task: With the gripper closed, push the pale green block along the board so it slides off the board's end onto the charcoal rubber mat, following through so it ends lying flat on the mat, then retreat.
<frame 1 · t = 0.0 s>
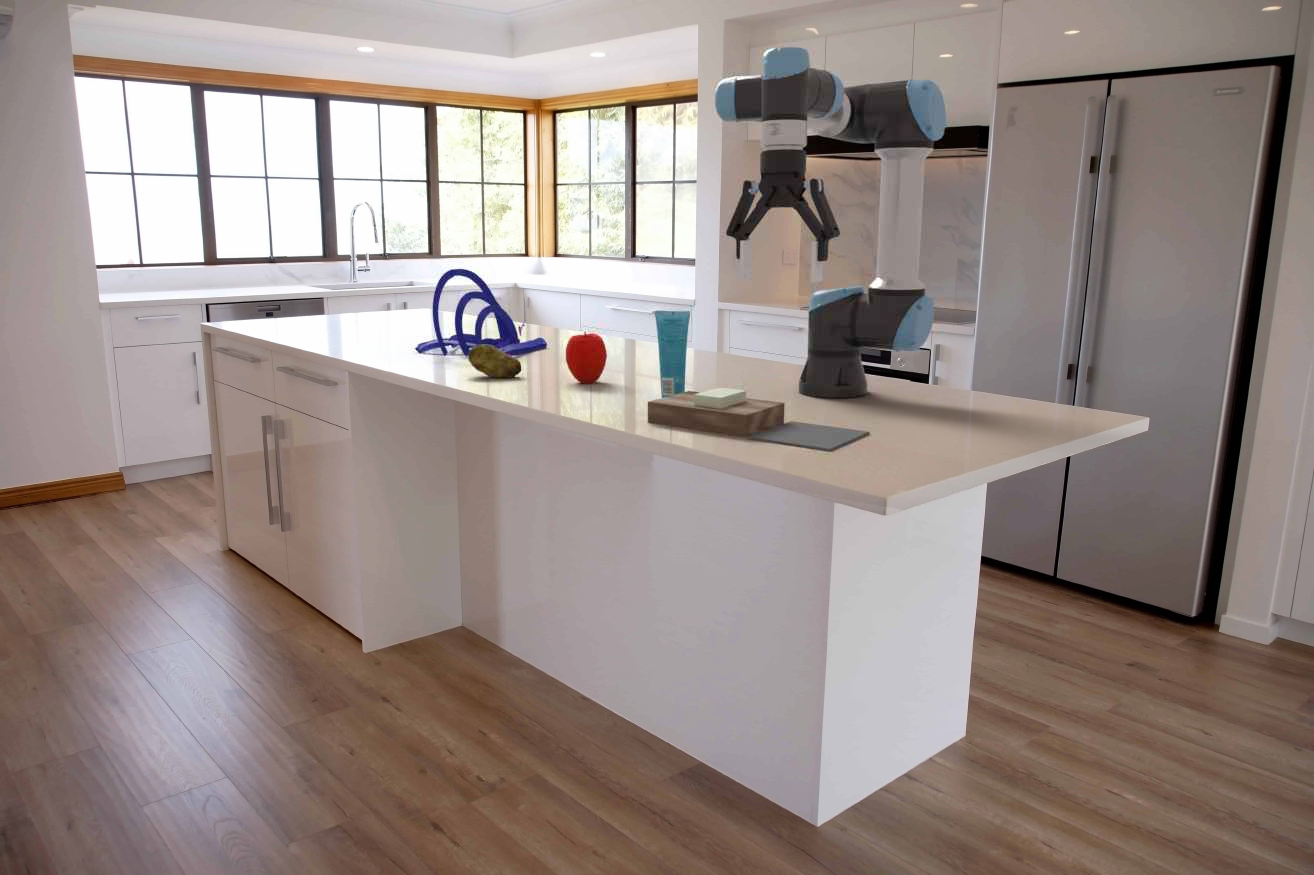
hand: (780, 280, 162), 28 cm above the countertop, fingers open, 13 cm apart
board: (715, 422, 184), on the countertop
tube: (672, 401, 207), on the countertop
pale green block: (720, 402, 183), point 4 cm above the countertop, touching board
sculpture: (482, 352, 284), on the countertop
apple: (587, 383, 230), on the countertop
mat: (809, 436, 173), on the countertop
potato: (494, 377, 238), on the countertop
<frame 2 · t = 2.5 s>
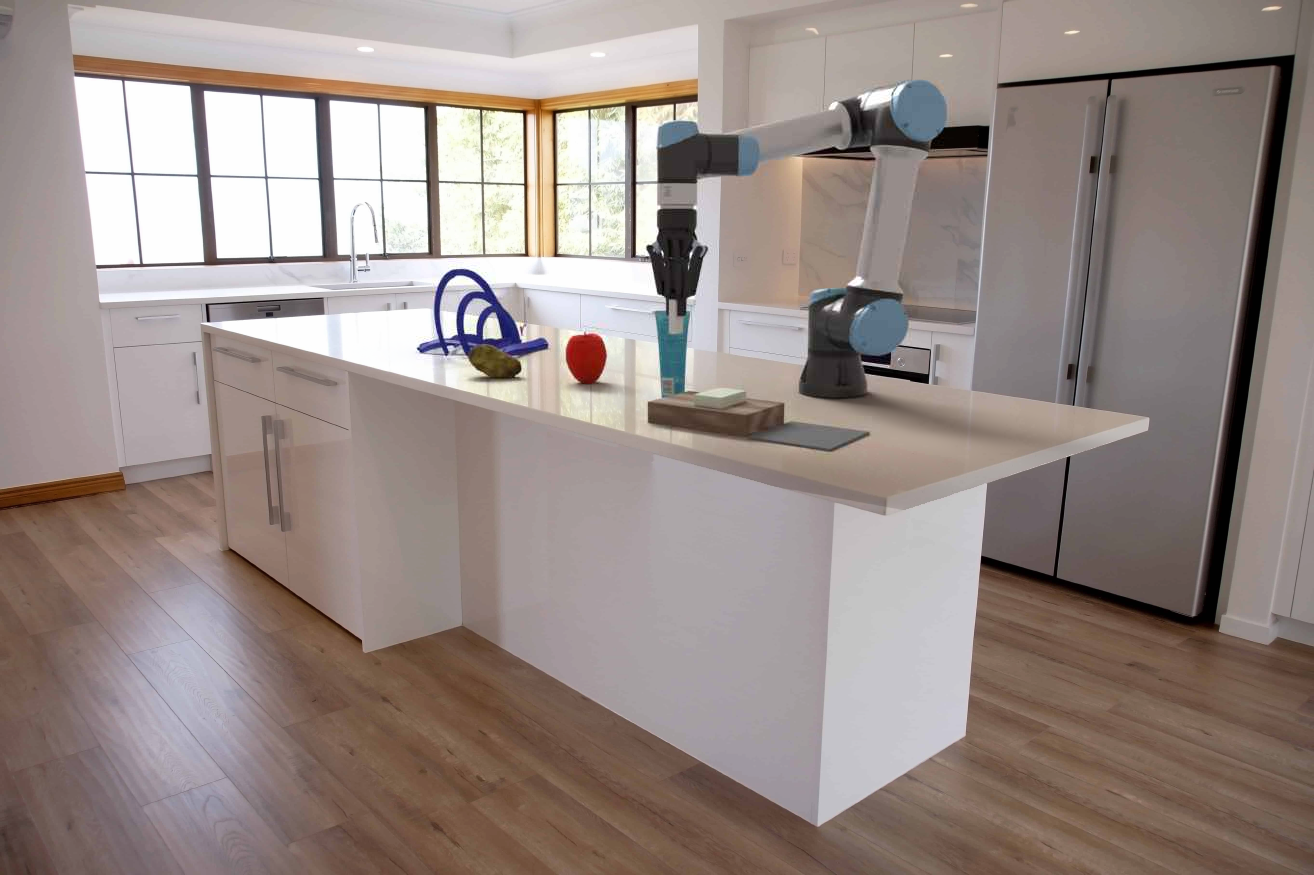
hand: (676, 333, 186), 17 cm above the countertop, fingers closed
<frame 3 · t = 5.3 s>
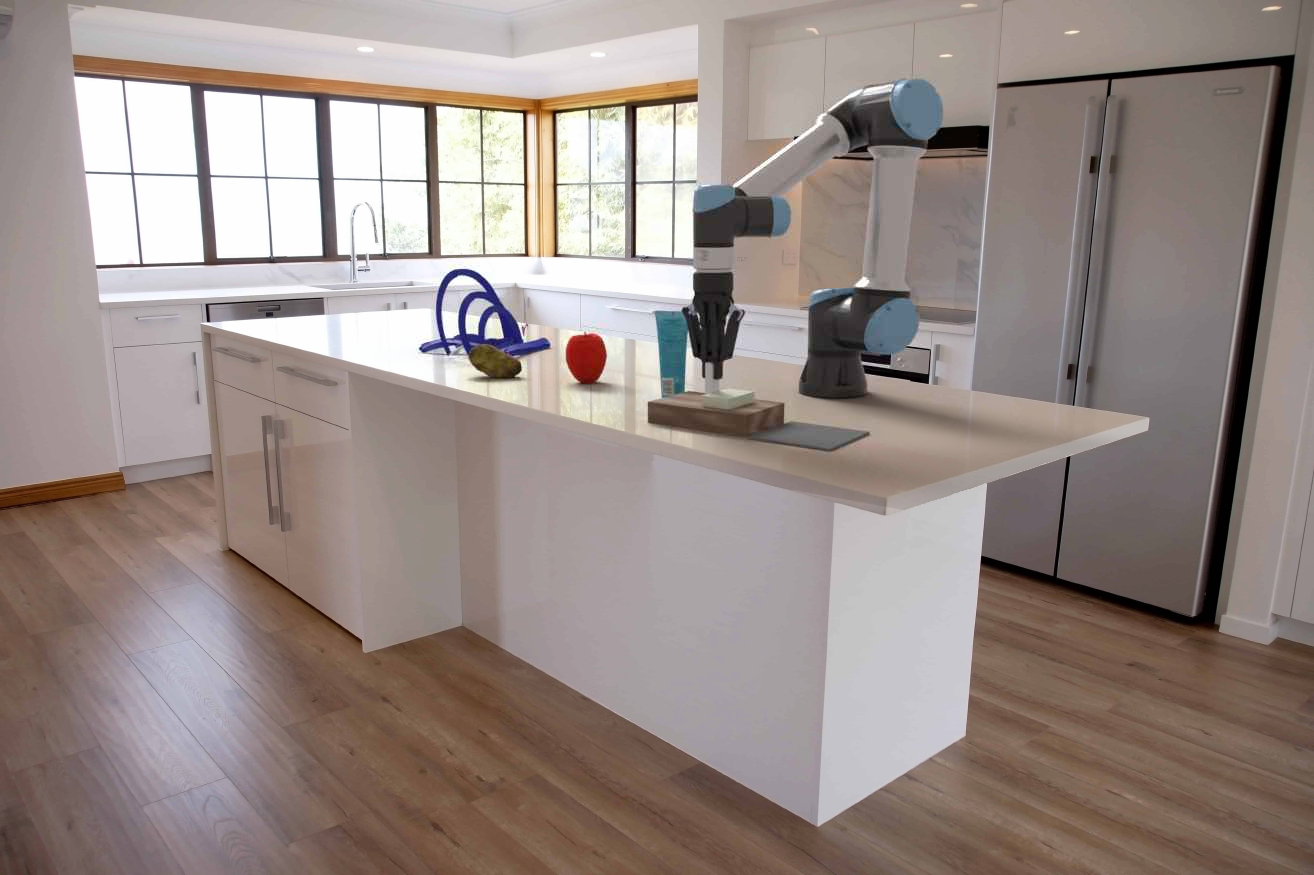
hand: (712, 395, 184), 5 cm above the countertop, fingers closed
pale green block: (728, 403, 182), point 4 cm above the countertop, touching board, gripper
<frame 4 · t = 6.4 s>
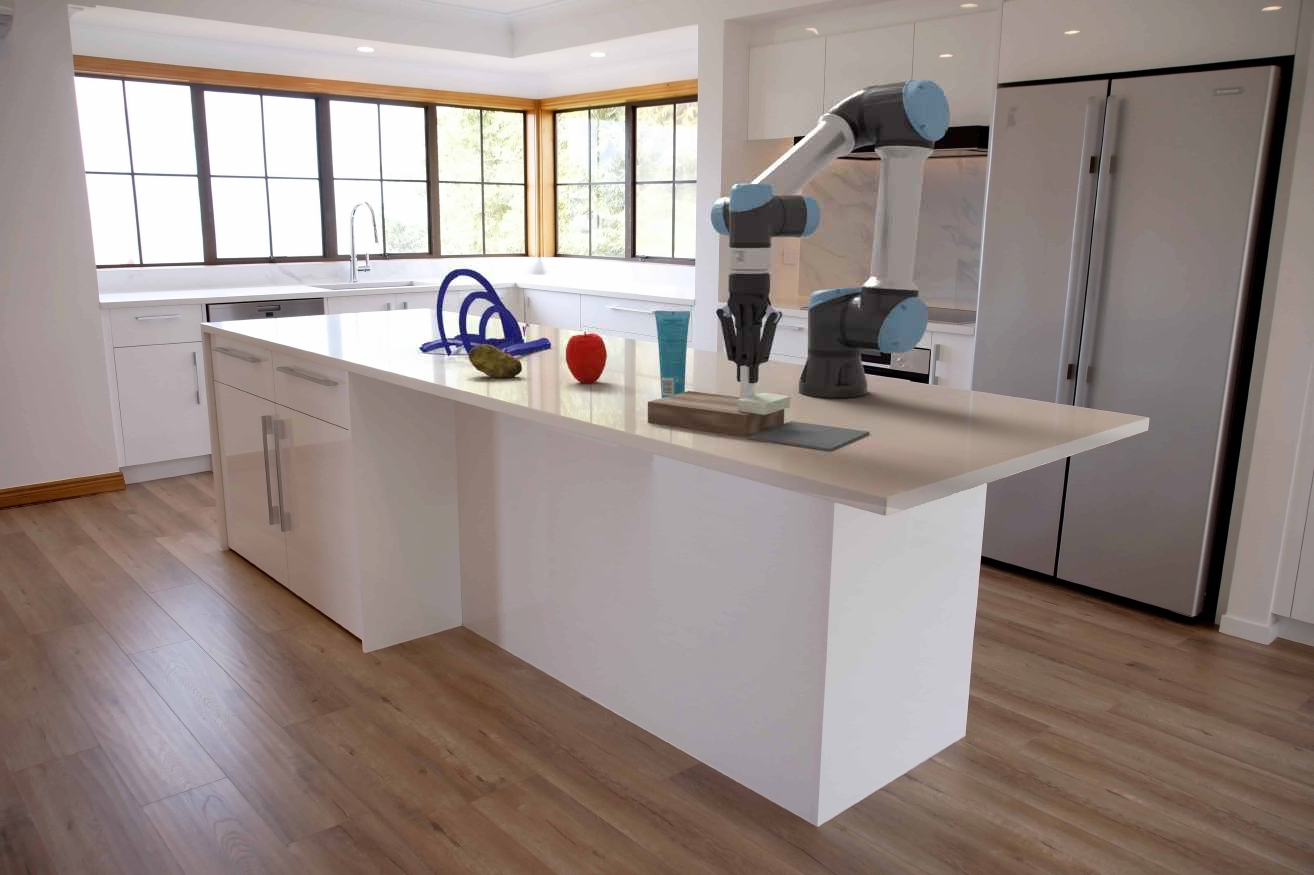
hand: (747, 399, 179), 5 cm above the countertop, fingers closed
pale green block: (763, 408, 177), point 4 cm above the countertop, touching gripper
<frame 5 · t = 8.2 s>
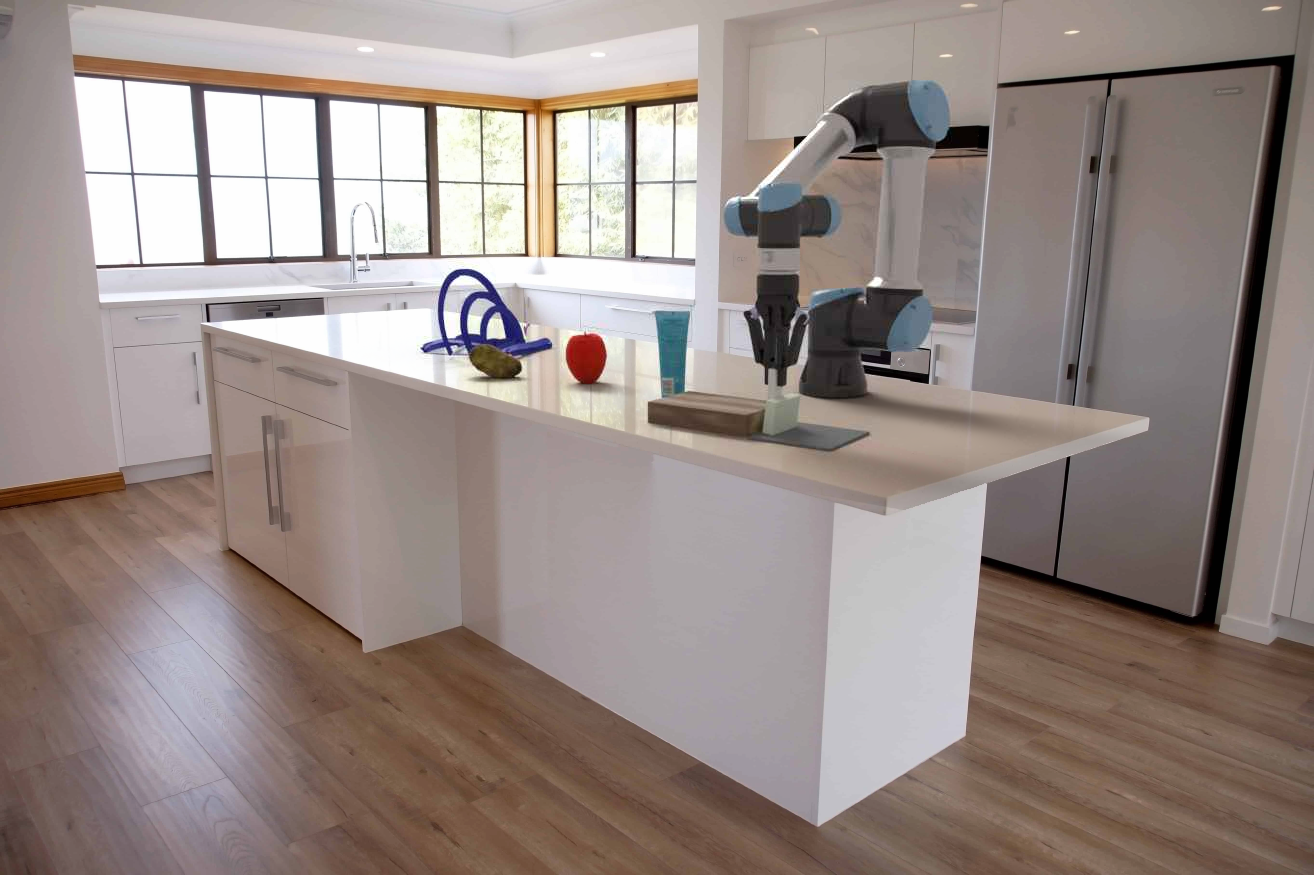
hand: (774, 403, 176), 5 cm above the countertop, fingers closed
pale green block: (776, 412, 175), point 4 cm above the countertop, tilted 96°, touching mat
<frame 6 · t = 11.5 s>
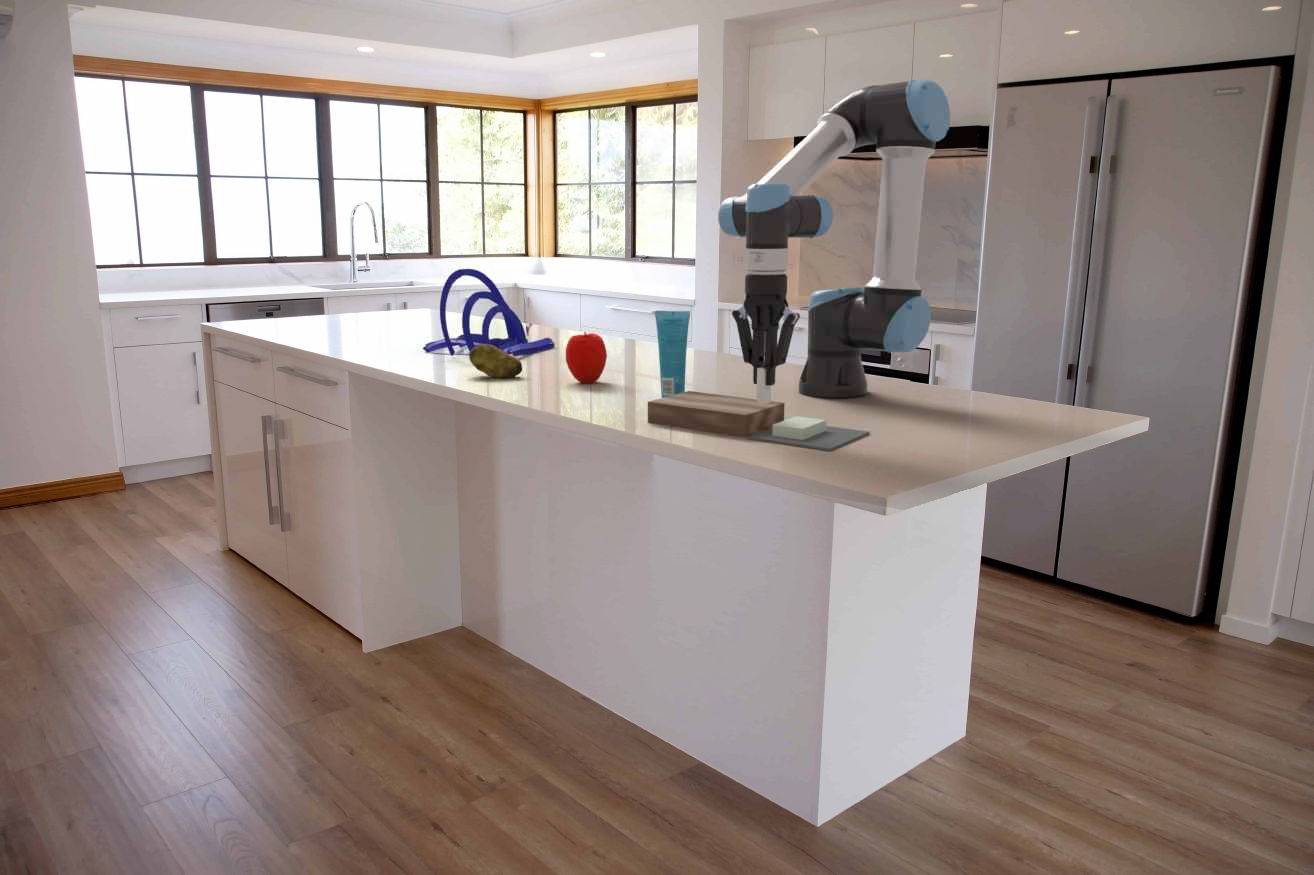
hand: (763, 402, 177), 5 cm above the countertop, fingers closed
pale green block: (799, 422, 173), point 2 cm above the countertop, tilted 180°, touching mat
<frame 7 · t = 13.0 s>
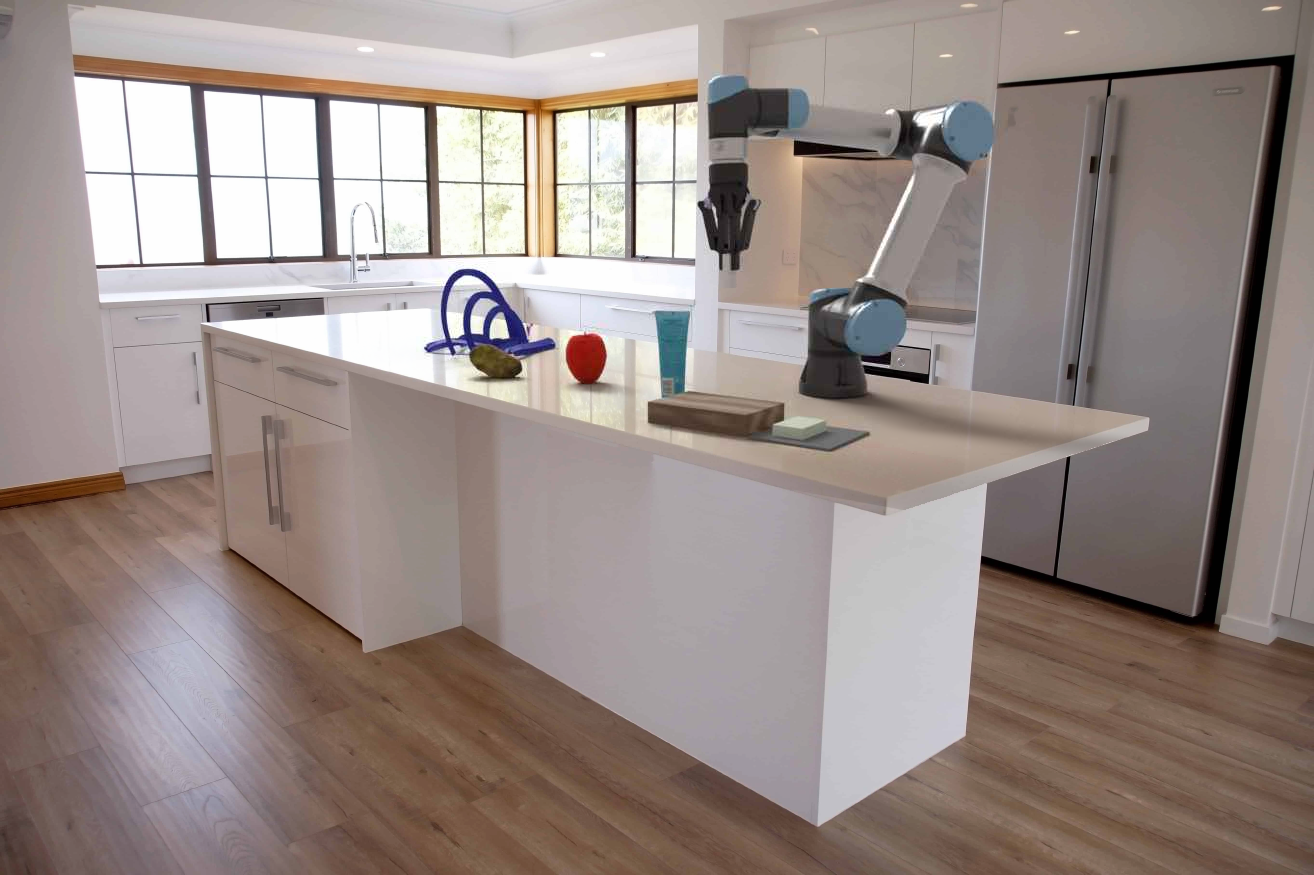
hand: (729, 287, 188), 25 cm above the countertop, fingers closed
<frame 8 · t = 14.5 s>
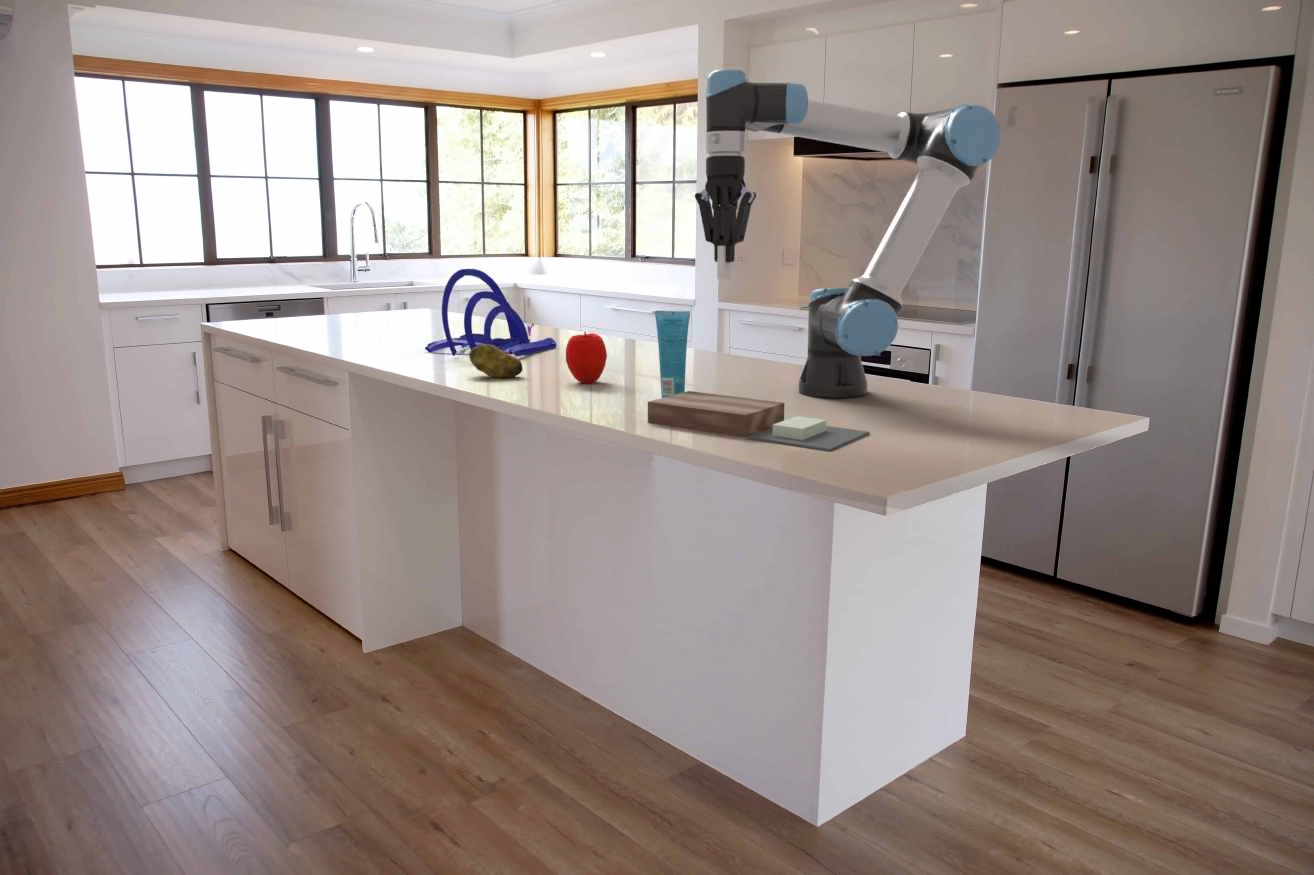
hand: (724, 278, 191), 26 cm above the countertop, fingers closed
at the end: pale green block point 2.4 cm above the countertop; pale green block inside the target area on the mat (1.8 cm from its centre), point 2.4 cm above the mat's base; pale green block touching mat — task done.
